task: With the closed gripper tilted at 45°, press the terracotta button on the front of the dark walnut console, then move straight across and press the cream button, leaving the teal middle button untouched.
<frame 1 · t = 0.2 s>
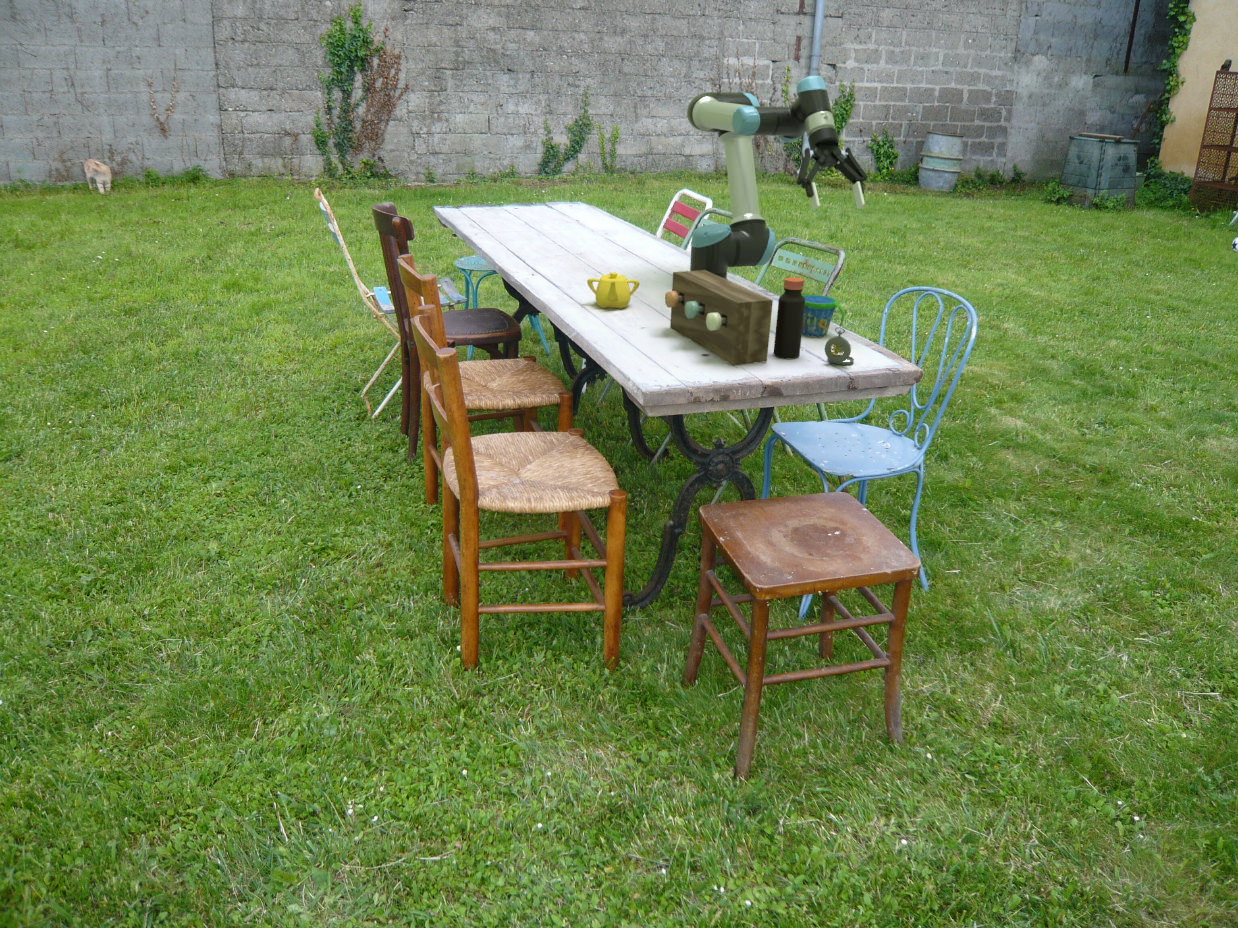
hand: (838, 207, 241), 36 cm above the table, tool tilted 35°, fingers open, 13 cm apart
bottle: (786, 356, 241), on the table
pocket watch: (838, 363, 236), on the table
terracotta button: (677, 298, 252), point 10 cm above the table, slide at 0.0 cm
snack cup: (813, 335, 260), on the table
cream button: (719, 321, 232), point 10 cm above the table, slide at 0.0 cm
yellow handled pot: (612, 307, 283), on the table
teal button: (697, 309, 242), point 10 cm above the table, slide at 0.0 cm
console: (715, 344, 249), on the table
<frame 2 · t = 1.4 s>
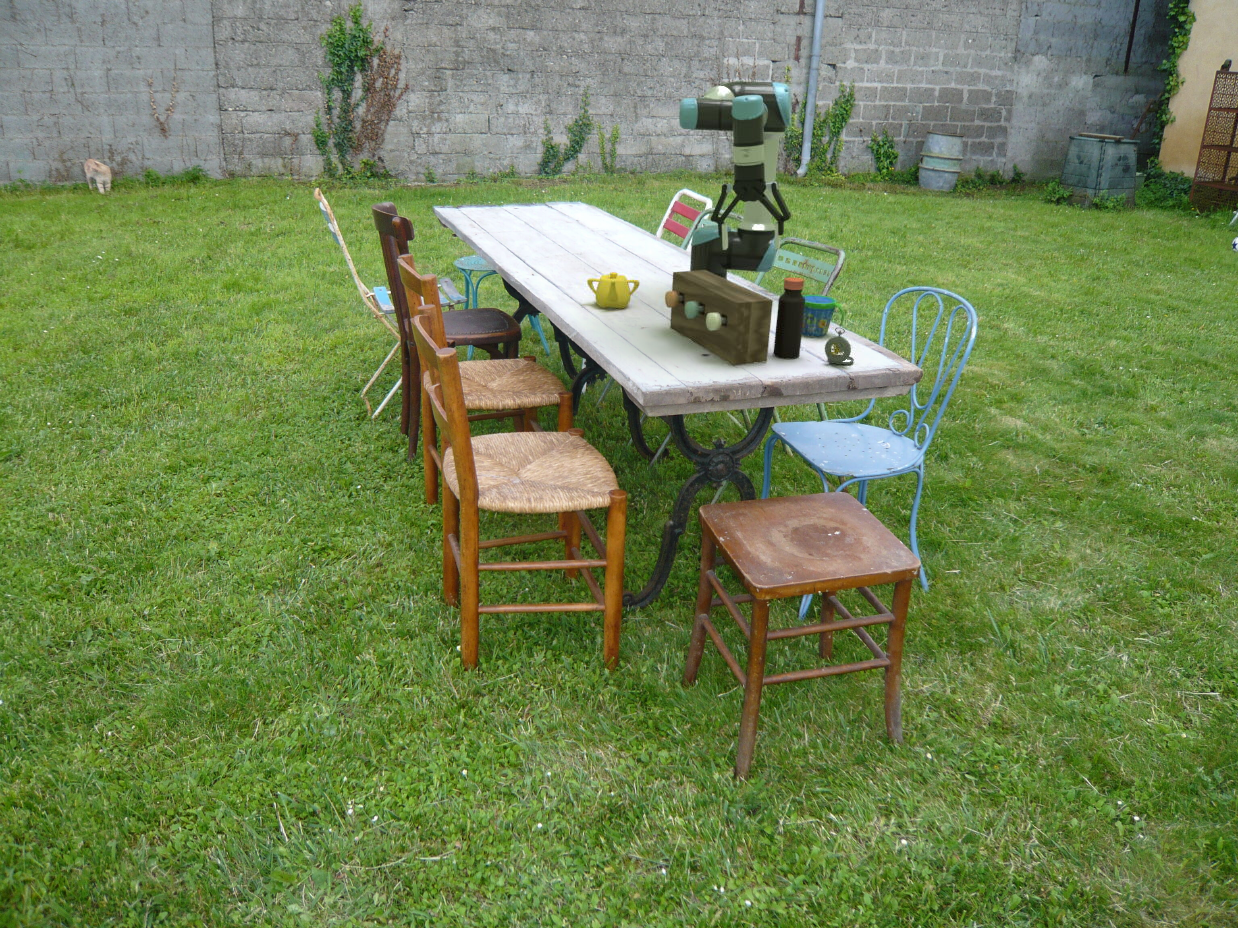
hand: (751, 248, 237), 26 cm above the table, tool pointing down, fingers open, 13 cm apart
nothing on the table moved.
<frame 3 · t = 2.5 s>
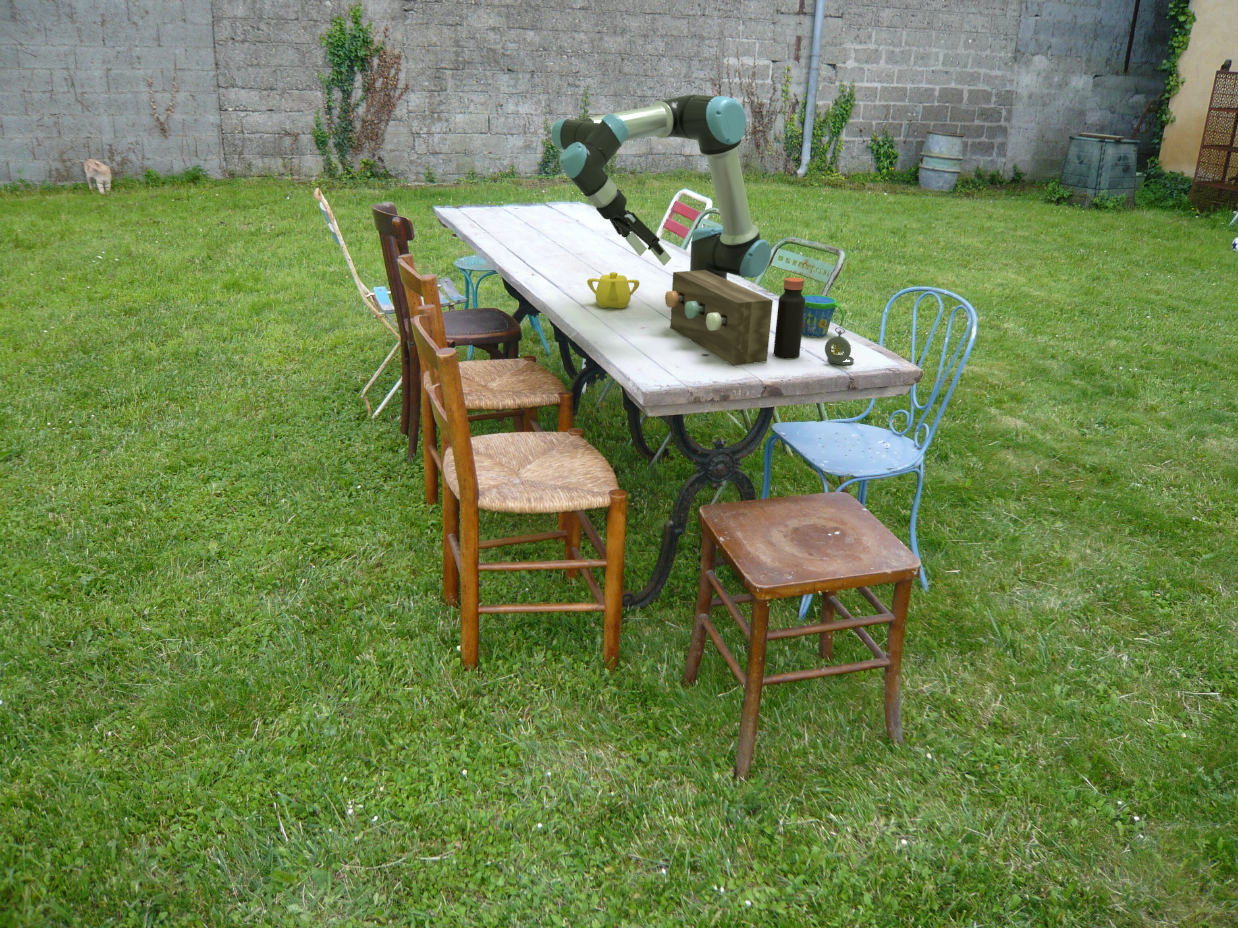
hand: (655, 257, 243), 22 cm above the table, tool tilted 45°, fingers open, 13 cm apart
nothing on the table moved.
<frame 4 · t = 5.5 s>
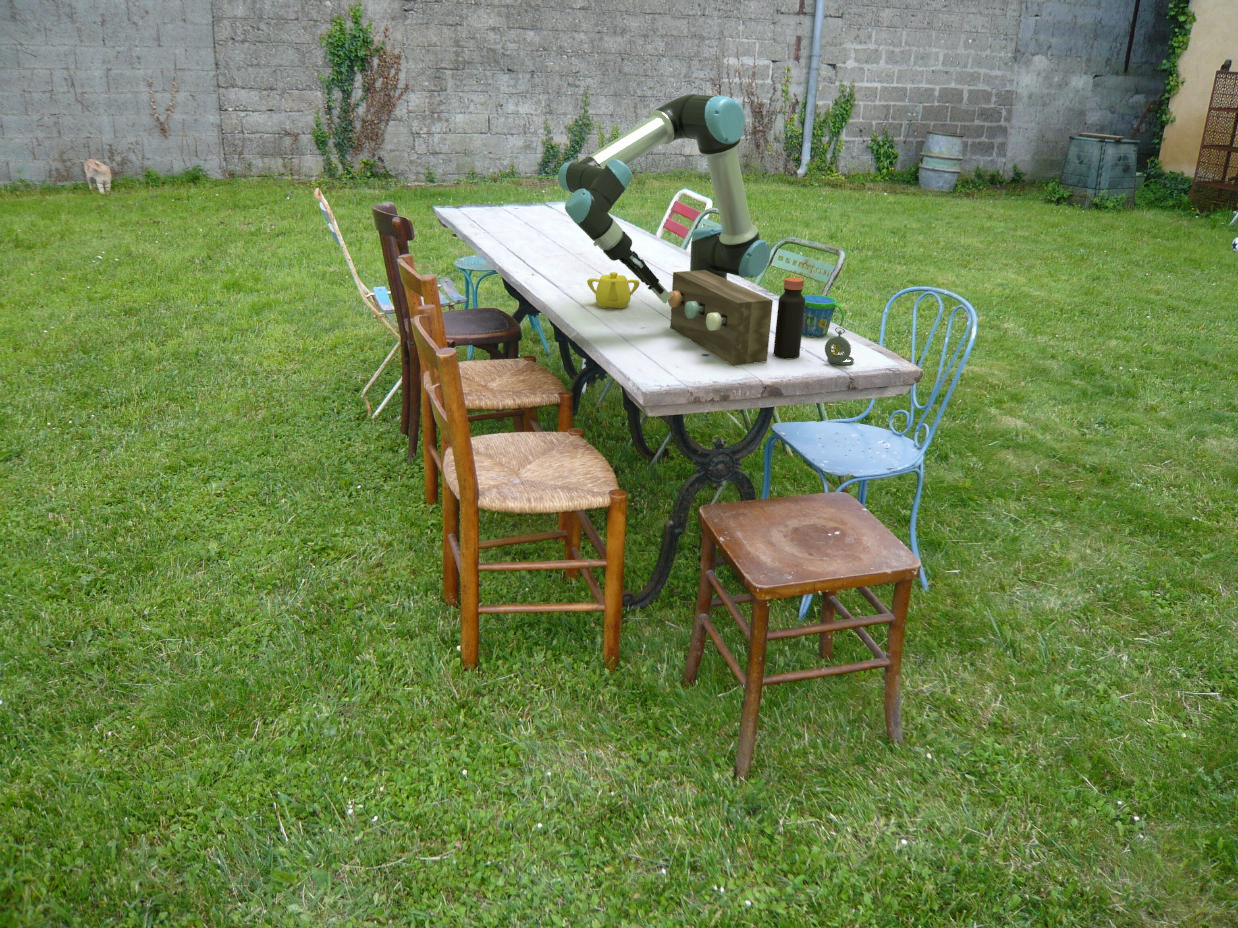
hand: (667, 299, 251), 10 cm above the table, tool tilted 45°, fingers closed
terracotta button: (680, 298, 253), point 10 cm above the table, slide at 0.9 cm, touching gripper
everything else where it was.
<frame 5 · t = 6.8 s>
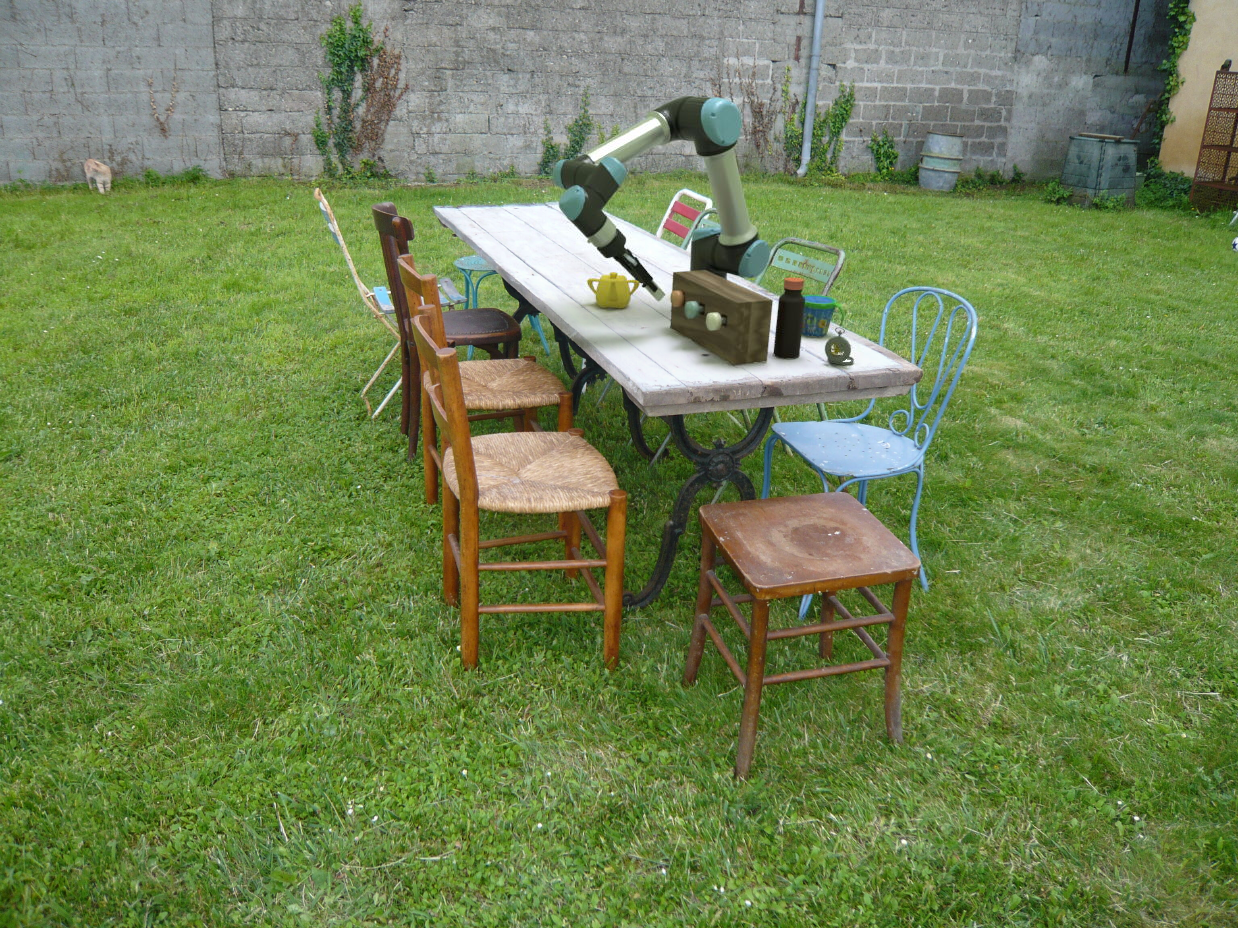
hand: (661, 297, 250), 11 cm above the table, tool tilted 45°, fingers closed
terracotta button: (682, 298, 253), point 10 cm above the table, slide at 1.7 cm
everything else where it was.
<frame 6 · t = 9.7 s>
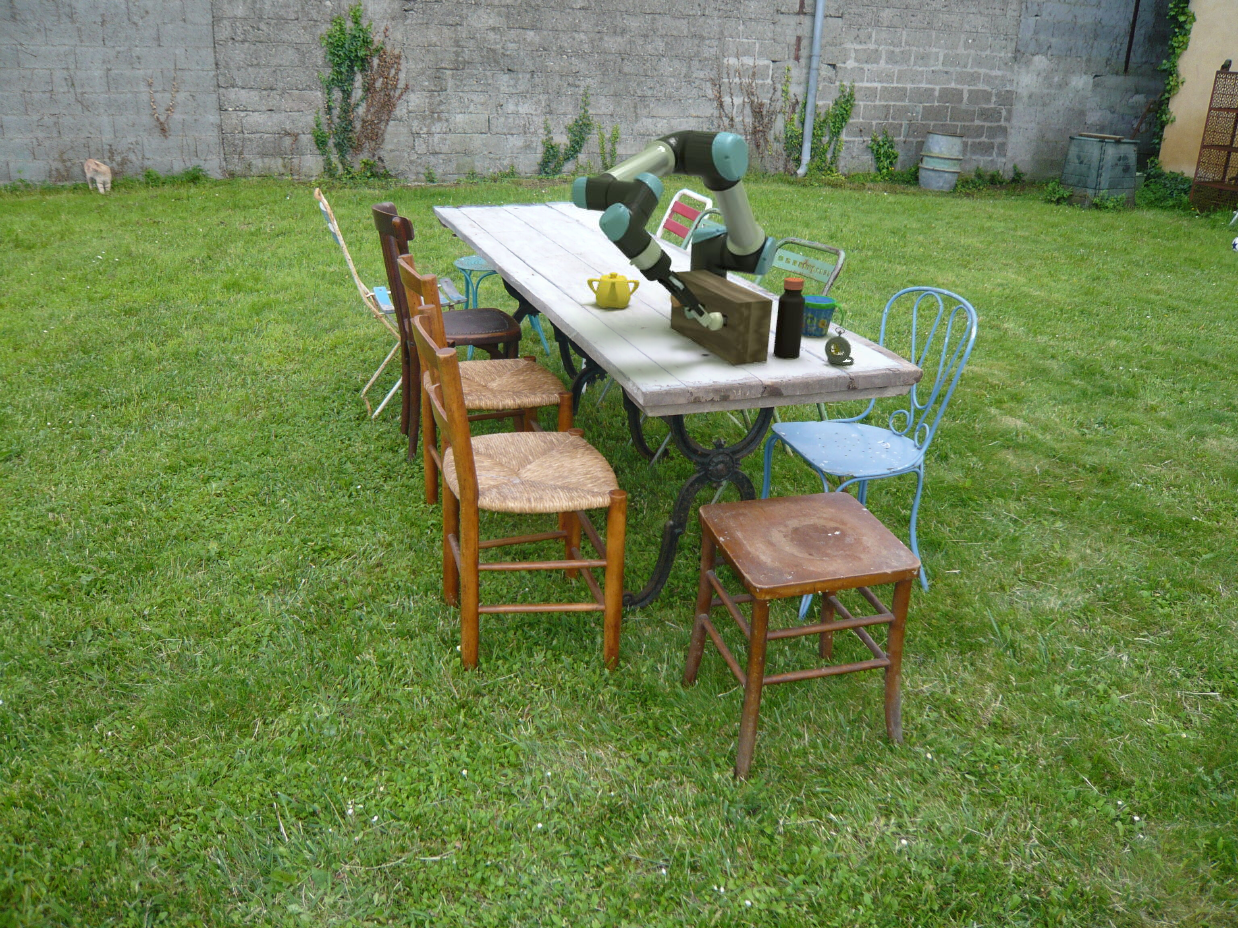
hand: (707, 322, 231), 10 cm above the table, tool tilted 45°, fingers closed
cream button: (721, 320, 233), point 10 cm above the table, slide at 0.5 cm, touching gripper
everything else where it was.
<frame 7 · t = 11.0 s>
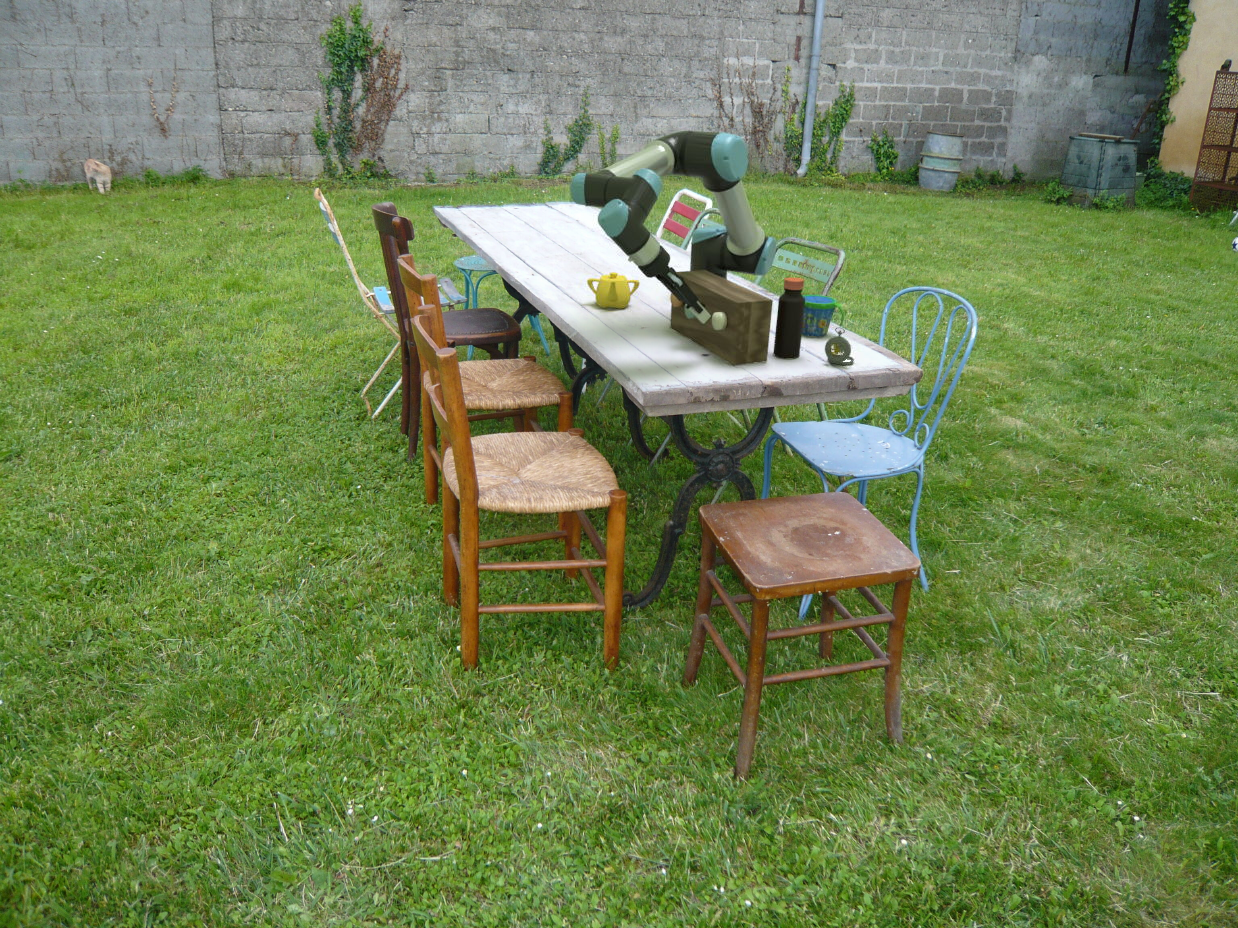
hand: (706, 319, 230), 11 cm above the table, tool tilted 45°, fingers closed
cream button: (725, 320, 233), point 10 cm above the table, slide at 1.7 cm
everything else where it was.
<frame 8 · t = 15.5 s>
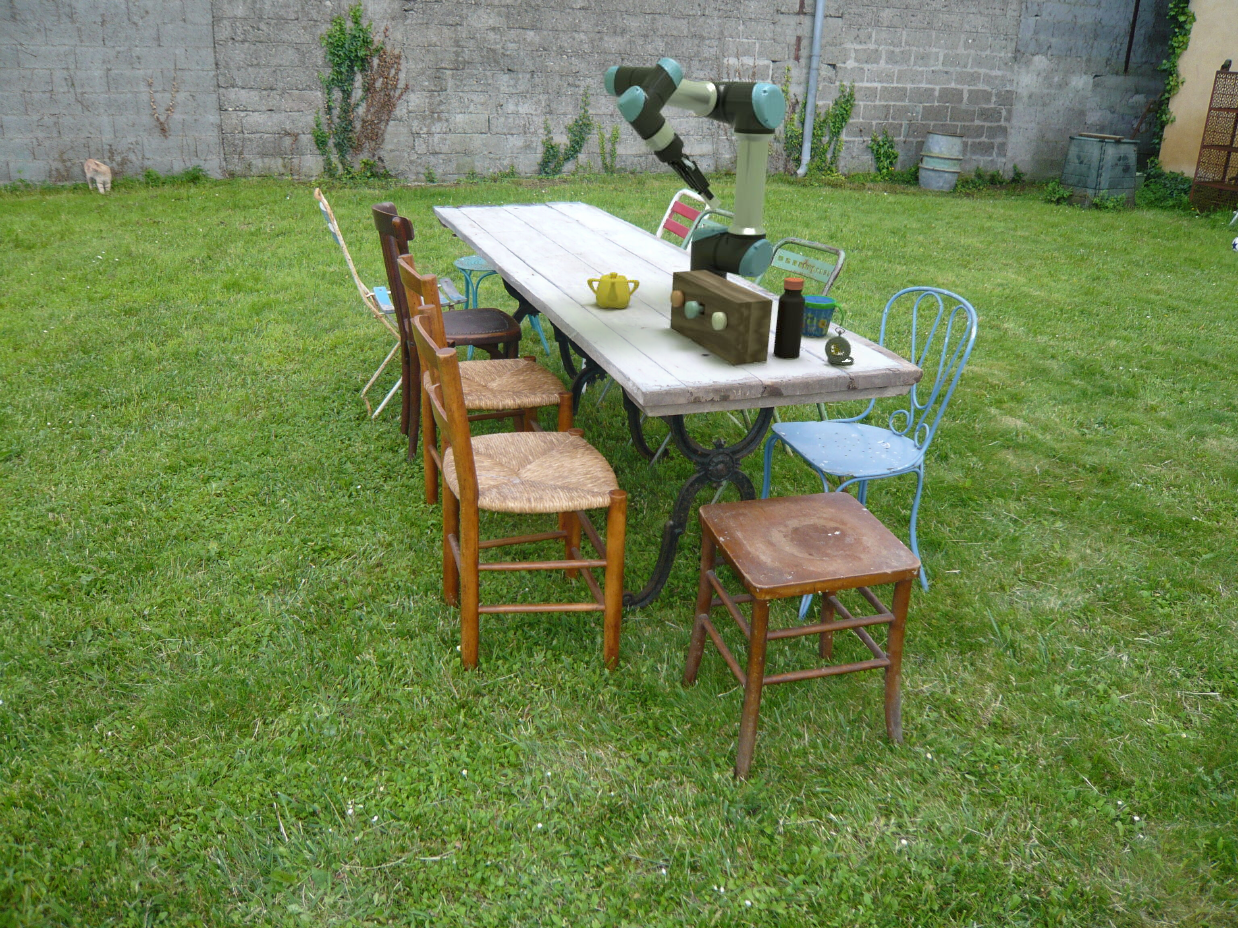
hand: (716, 206, 248), 34 cm above the table, tool tilted 45°, fingers closed
nothing on the table moved.
at the end: terracotta button slide at 1.7 cm; cream button slide at 1.7 cm; teal button slide at 0.0 cm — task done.
